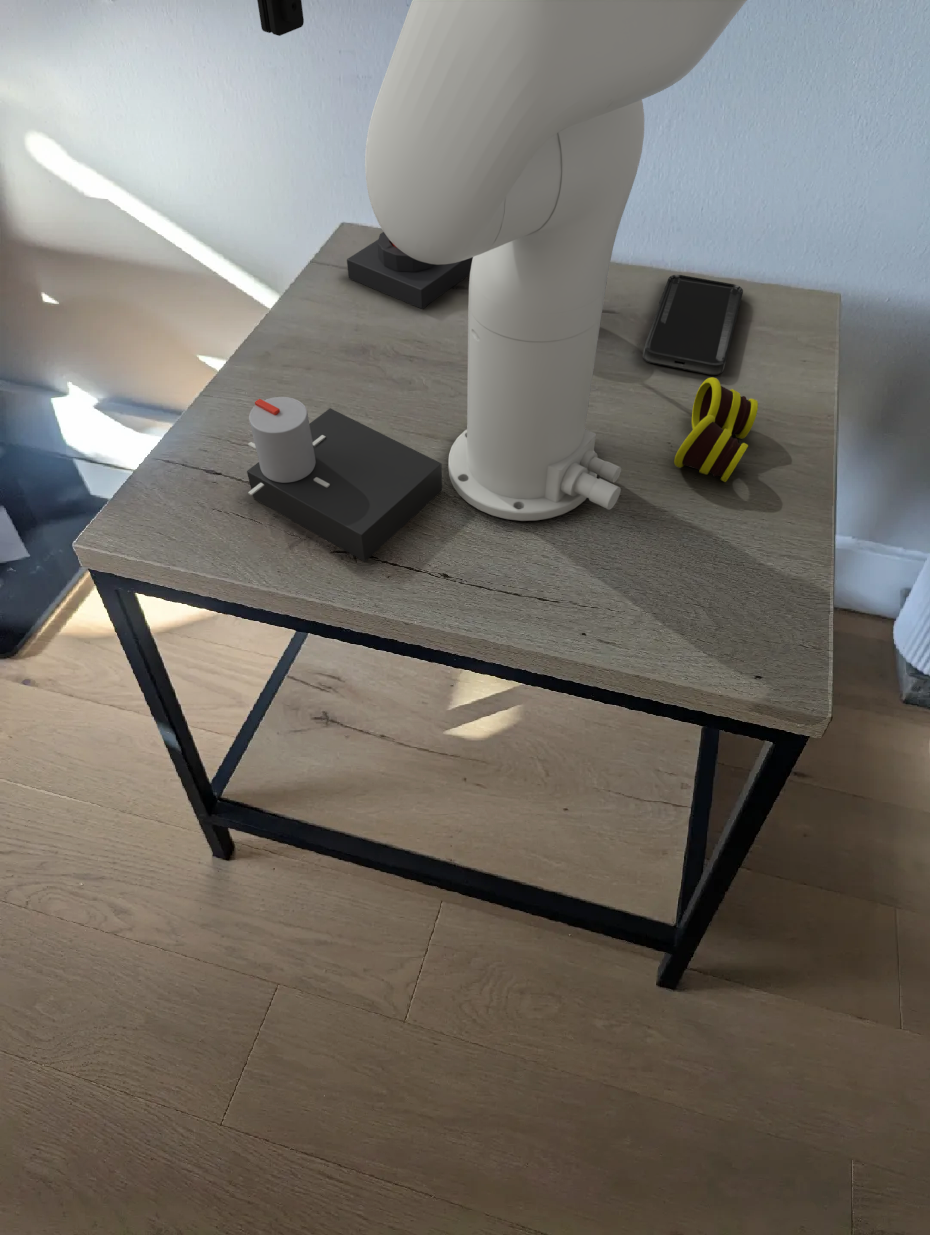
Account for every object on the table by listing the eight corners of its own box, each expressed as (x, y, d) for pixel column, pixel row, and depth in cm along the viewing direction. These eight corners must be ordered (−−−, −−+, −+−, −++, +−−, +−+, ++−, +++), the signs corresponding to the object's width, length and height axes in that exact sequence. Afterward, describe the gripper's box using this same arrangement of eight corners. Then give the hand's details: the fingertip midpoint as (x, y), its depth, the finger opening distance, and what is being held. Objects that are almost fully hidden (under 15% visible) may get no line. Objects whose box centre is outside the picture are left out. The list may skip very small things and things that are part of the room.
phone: (744, 286, 90) (724, 367, 81) (741, 296, 91) (721, 377, 82) (669, 272, 92) (641, 350, 83) (667, 282, 92) (639, 361, 83)
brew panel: (442, 490, 72) (441, 461, 70) (349, 576, 66) (345, 547, 64) (316, 426, 77) (311, 397, 75) (219, 500, 71) (210, 471, 69)
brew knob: (327, 461, 70) (318, 407, 66) (288, 490, 68) (278, 437, 63) (287, 439, 71) (276, 385, 67) (248, 468, 69) (235, 414, 65)
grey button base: (473, 272, 94) (473, 236, 91) (422, 309, 89) (420, 273, 86) (400, 244, 97) (398, 209, 94) (348, 278, 93) (344, 242, 90)
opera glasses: (723, 499, 73) (750, 456, 69) (665, 474, 73) (688, 431, 69) (742, 430, 79) (768, 387, 75) (688, 407, 79) (711, 364, 75)
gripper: (113, -309, 56) (183, 22, 70) (283, -291, 50) (321, 65, 65) (200, -318, 60) (249, -2, 74) (366, -302, 54) (385, 36, 68)
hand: (283, 28), depth 69 cm, fingers closed
